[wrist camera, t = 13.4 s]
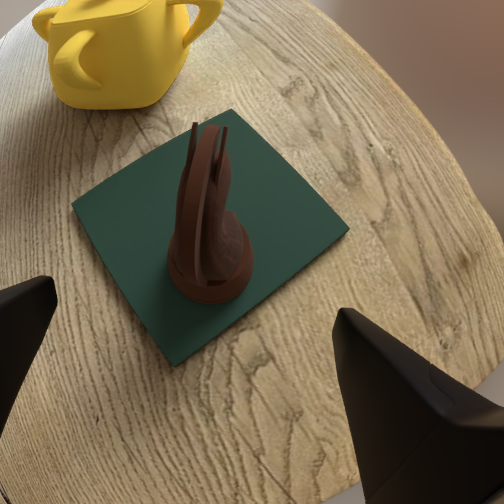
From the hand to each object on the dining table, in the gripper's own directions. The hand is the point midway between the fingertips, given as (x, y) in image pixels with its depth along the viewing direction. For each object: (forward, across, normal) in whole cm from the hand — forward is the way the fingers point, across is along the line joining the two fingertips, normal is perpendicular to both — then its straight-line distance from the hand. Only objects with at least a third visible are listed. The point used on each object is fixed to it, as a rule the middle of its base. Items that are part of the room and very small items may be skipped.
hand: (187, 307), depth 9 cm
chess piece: (+8, 0, +3) cm, 9 cm away
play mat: (+11, +1, +1) cm, 11 cm away
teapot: (+20, +9, -9) cm, 24 cm away
